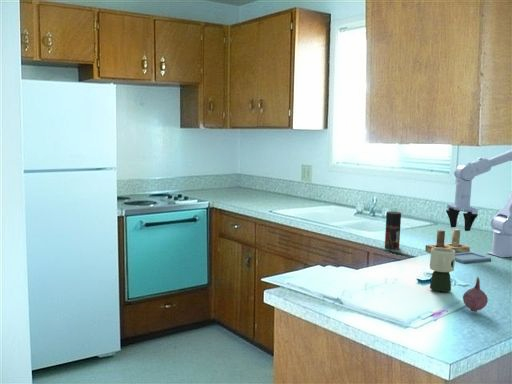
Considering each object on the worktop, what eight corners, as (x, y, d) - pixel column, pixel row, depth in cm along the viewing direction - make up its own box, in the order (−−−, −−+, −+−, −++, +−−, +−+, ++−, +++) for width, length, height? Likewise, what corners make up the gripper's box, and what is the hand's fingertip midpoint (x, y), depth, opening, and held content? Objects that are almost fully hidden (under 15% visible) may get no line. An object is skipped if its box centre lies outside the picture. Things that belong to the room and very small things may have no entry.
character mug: (454, 297, 160) (457, 254, 158) (429, 294, 161) (432, 252, 160) (450, 286, 170) (453, 246, 169) (426, 284, 172) (429, 245, 170)
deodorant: (388, 245, 229) (390, 211, 227) (401, 247, 225) (403, 212, 224) (382, 247, 225) (384, 212, 223) (395, 250, 221) (397, 214, 219)
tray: (471, 254, 216) (471, 251, 216) (490, 260, 207) (491, 257, 207) (444, 257, 210) (444, 254, 210) (462, 263, 201) (463, 260, 201)
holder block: (455, 248, 227) (455, 242, 226) (469, 252, 219) (470, 246, 219) (425, 250, 221) (425, 245, 220) (438, 255, 213) (439, 249, 213)
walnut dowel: (440, 251, 220) (441, 230, 219) (445, 253, 218) (446, 231, 217) (434, 251, 219) (435, 230, 218) (439, 253, 216) (440, 231, 215)
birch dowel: (455, 250, 223) (456, 229, 222) (460, 251, 221) (461, 230, 220) (449, 250, 222) (451, 229, 221) (454, 252, 220) (456, 230, 218)
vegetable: (490, 316, 144) (493, 280, 142) (468, 316, 143) (471, 280, 142) (479, 308, 150) (482, 274, 149) (458, 308, 149) (460, 274, 148)
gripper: (442, 193, 217) (439, 226, 219) (469, 198, 204) (466, 232, 206) (455, 193, 220) (452, 225, 222) (482, 197, 207) (480, 232, 209)
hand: (460, 229), depth 214 cm, fingers open, 7 cm apart
